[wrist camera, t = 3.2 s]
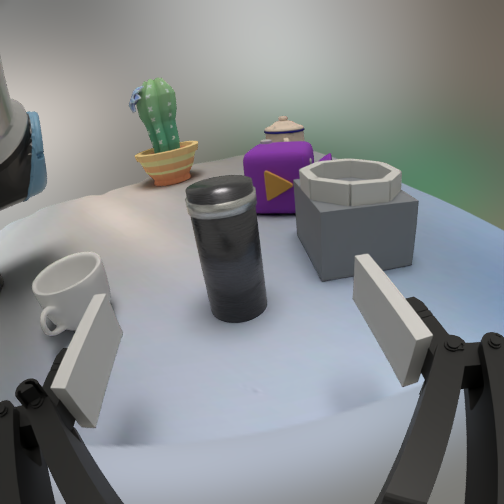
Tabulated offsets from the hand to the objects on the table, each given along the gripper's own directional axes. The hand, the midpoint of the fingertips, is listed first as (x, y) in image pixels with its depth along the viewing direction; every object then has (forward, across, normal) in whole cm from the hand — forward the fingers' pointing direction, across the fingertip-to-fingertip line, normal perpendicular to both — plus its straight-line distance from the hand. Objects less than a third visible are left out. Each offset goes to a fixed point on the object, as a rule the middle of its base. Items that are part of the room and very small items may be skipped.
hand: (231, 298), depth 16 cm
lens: (+10, 0, -8) cm, 13 cm away
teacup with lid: (+58, +14, -8) cm, 60 cm away
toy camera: (+33, +10, -8) cm, 35 cm away
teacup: (+10, -16, -8) cm, 21 cm away
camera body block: (+17, +13, -8) cm, 23 cm away
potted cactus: (+62, -13, -7) cm, 64 cm away
